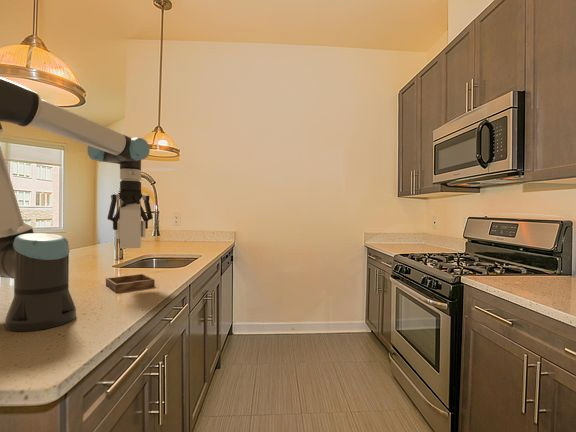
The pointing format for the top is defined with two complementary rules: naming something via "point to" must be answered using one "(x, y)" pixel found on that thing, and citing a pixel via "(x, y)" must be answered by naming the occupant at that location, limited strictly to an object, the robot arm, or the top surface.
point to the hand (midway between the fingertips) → (130, 237)
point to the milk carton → (130, 226)
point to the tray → (129, 282)
